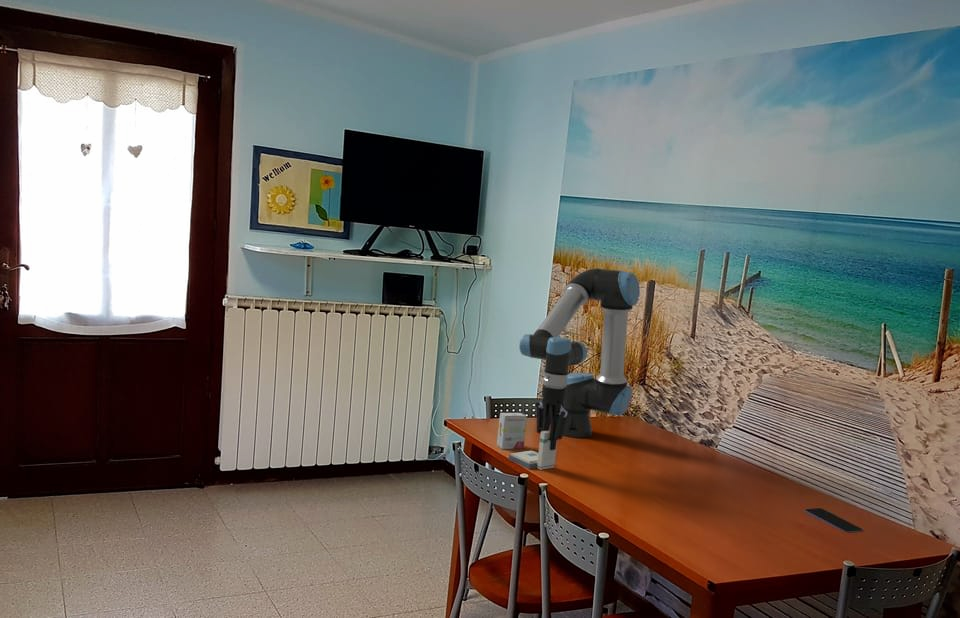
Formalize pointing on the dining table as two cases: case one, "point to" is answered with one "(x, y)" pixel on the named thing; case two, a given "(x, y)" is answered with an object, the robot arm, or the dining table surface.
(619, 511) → the dining table surface
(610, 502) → the dining table surface
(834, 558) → the dining table surface
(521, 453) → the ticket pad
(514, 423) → the ink box
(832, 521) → the smartphone
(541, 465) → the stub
